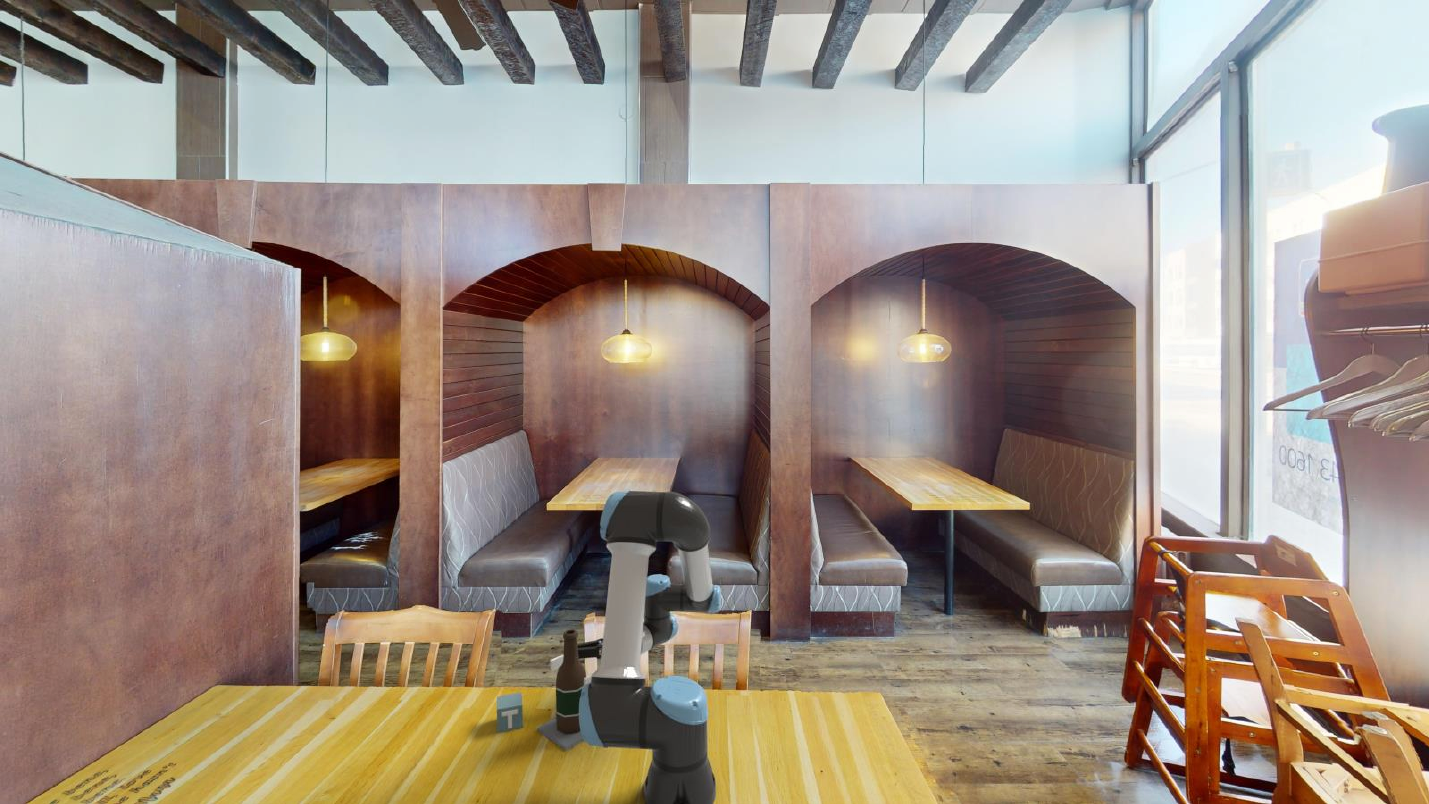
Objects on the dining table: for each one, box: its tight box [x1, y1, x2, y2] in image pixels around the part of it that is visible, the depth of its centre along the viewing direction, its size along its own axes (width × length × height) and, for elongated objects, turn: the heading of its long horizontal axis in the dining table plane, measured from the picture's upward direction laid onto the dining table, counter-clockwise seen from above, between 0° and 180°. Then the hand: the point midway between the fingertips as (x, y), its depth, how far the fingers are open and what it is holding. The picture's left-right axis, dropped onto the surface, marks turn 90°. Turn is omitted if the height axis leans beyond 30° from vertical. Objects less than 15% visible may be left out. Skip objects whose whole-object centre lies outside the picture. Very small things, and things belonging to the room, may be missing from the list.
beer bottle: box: [555, 628, 587, 734], centre depth 146 cm, size 8×8×24 cm
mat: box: [536, 716, 585, 751], centre depth 147 cm, size 12×12×1 cm
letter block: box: [496, 691, 524, 733], centre depth 149 cm, size 6×6×6 cm
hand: (567, 674), depth 145 cm, fingers open, 13 cm apart
